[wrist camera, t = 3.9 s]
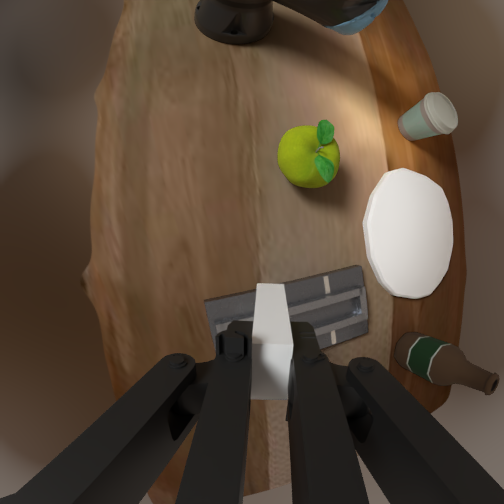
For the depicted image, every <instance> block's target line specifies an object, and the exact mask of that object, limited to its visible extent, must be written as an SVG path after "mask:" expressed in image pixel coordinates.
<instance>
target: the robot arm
mask: <svg viewBox="0 0 504 504" xmlns="http://www.w3.org/2000/svg"><path fill="white" fill-rule="evenodd" d="M273 1H274V2H277V3H279V4H281V5H284V6H286V7H288V8H290V9H292V10H294V11H296V12H298V13H300V14H302V15H304V16H306V17H308V18H310V19H312V20H314V21H316V22H318V23H319V24H321V25H322V26H324V27H326V28H330V29H332V30H334V31H336V32H338V33H340V34H342V35H353V34H355V33H358V32H359V31H361V30H362V29H364V28H365V27H366V26H368V25H369V24H370V23H371V22H372V21H373V20H374V18H375V17H376V16H378V15H379V14H380V13H381V12H382V10H383V9H384V7H385V6H386V4H387V2H388V0H200V1H199V2H198V4H197V6H196V9H195V17H194V20H195V24H196V26H197V28H198V29H199V30H200V31H201V32H202V33H203V34H205V35H206V36H208V37H210V38H212V39H214V40H217V41H220V42H224V43H230V44H245V43H251V42H255V41H257V40H259V39H261V38H263V37H264V36H265V35H266V34H267V33H268V32H269V30H270V28H271V26H272V24H273V20H274V16H273ZM215 340H216V358H215V359H214V360H211V361H209V362H203V363H195V359H193V358H192V357H191V356H189V355H187V354H181V353H175V354H170V355H167V356H165V357H164V358H162V359H161V360H160V361H159V362H158V363H157V364H156V365H155V366H154V367H153V368H152V369H151V370H149V371H148V372H147V373H146V374H145V375H144V376H143V377H142V378H141V379H140V380H139V381H138V382H137V383H136V384H135V385H134V386H132V387H131V388H130V389H129V390H128V391H127V392H126V393H125V394H124V395H123V396H122V397H121V398H120V399H119V400H118V401H116V402H115V403H114V404H113V405H112V406H111V407H110V408H109V409H108V410H107V411H106V412H105V413H104V414H103V415H101V416H100V417H99V418H98V419H97V420H96V421H95V422H94V423H93V424H92V425H91V426H90V427H88V428H87V429H86V430H85V431H84V432H83V433H82V434H81V435H80V436H79V437H78V438H77V439H76V440H75V441H73V442H72V443H71V444H70V445H69V446H68V447H67V448H65V449H64V450H63V451H62V452H61V453H60V454H59V455H58V456H57V457H56V458H54V459H53V460H52V461H51V462H50V463H49V464H48V465H47V466H46V467H44V468H43V469H42V470H41V471H40V472H39V473H38V474H37V475H36V476H34V477H33V478H32V479H31V480H30V481H29V482H28V483H27V484H25V485H24V486H23V487H22V488H21V489H20V490H19V491H18V492H16V493H15V494H12V495H9V496H6V497H3V498H0V504H139V502H140V501H141V500H142V498H143V497H144V496H145V494H146V493H147V492H148V490H149V489H150V487H151V486H152V485H153V483H154V482H155V481H156V479H157V478H158V476H159V475H160V474H161V472H162V471H163V470H164V468H165V467H166V465H167V464H168V462H169V461H170V460H171V458H172V457H173V455H174V454H175V453H176V451H177V450H178V448H179V447H180V445H181V444H182V442H183V441H184V440H185V438H186V437H187V435H188V434H189V432H190V431H191V429H192V428H193V426H194V425H195V423H196V422H197V420H198V422H197V426H196V429H195V433H194V437H193V440H192V444H191V448H190V451H189V455H188V459H187V462H186V466H185V470H184V473H183V477H182V481H181V484H180V488H179V492H178V495H177V499H176V503H175V504H242V503H243V492H244V480H245V468H246V456H247V443H248V430H249V417H250V399H263V400H287V397H288V406H287V413H286V421H288V428H289V444H290V461H291V480H292V500H293V501H292V502H293V504H369V501H368V497H367V492H366V488H365V485H364V481H363V477H362V473H361V469H360V466H359V462H358V458H357V454H356V451H357V453H358V454H359V456H360V457H361V459H362V461H363V462H364V464H365V465H366V467H367V468H368V470H369V472H370V473H371V474H372V476H373V478H374V479H375V481H376V482H377V484H378V485H379V487H380V488H381V490H382V492H383V493H384V495H385V496H386V498H387V499H388V501H389V502H390V504H504V489H502V487H500V485H499V484H498V483H497V482H496V481H495V480H494V479H493V478H492V477H491V476H490V475H489V474H488V473H487V472H486V471H485V470H484V469H483V467H482V466H481V465H480V464H479V463H478V462H477V461H476V460H475V459H474V458H473V457H472V456H471V455H470V454H469V453H468V452H467V451H466V450H465V449H464V448H463V447H462V446H461V445H460V444H459V443H458V442H457V441H456V440H455V439H454V437H453V436H452V435H451V434H449V432H448V431H447V430H446V429H445V428H444V427H443V426H442V425H441V424H440V423H439V422H438V421H437V420H436V419H435V418H434V417H433V416H432V415H431V414H430V413H429V412H428V411H427V410H426V409H425V408H424V407H423V406H422V405H421V404H420V403H419V402H418V401H417V400H416V399H415V398H414V397H413V396H412V395H411V394H410V393H409V392H408V391H407V390H406V389H405V388H404V387H403V386H402V385H401V384H400V383H399V382H398V381H397V380H396V379H395V378H394V377H393V376H392V375H391V374H390V373H389V372H388V371H387V370H386V369H385V368H384V367H383V366H382V365H381V364H380V363H379V362H378V361H376V360H374V359H371V358H368V357H367V358H366V357H358V358H355V359H352V360H351V361H350V362H349V365H348V366H341V365H336V364H333V363H330V362H329V360H328V357H327V356H326V354H324V353H322V352H321V351H320V347H319V344H318V341H317V338H316V334H315V331H314V327H313V326H312V325H311V324H310V323H308V322H292V321H290V319H289V313H288V307H287V301H286V295H285V289H284V284H262V283H257V290H256V301H255V312H254V321H238V320H233V321H232V322H231V323H230V324H228V327H227V330H224V331H221V332H219V333H218V334H217V335H216V336H215ZM355 450H356V451H355Z"/></svg>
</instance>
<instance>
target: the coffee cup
mask: <svg viewBox="0 0 504 504" xmlns="http://www.w3.org/2000/svg"><path fill="white" fill-rule="evenodd" d="M457 124H458V117H457V113H456V110H455V108H454V106H453V104H452V103H451V101H449V99H448V98H447V97H446V96H445V95H444V94H442V93H439V92H436V93H434V92H431V93H428V94H426V95H425V98H424V99H422V100H421V101H420V102H418V103H417V104H416V105H415V106H413V107H412V108H411V109H410V110H408V111H407V112H406V113H404V114H403V115H402V116H401V117H400V118H399V119H398V127H399V130H400V132H401V134H402V135H403V136H404V137H405V138H406V139H408V140H410V141H414V140H418V139H423V138H427V137H431V136H435V135H440V134H450V133H451V132H452V131H453V130H454V129H455V128H456V127H457Z"/></svg>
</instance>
